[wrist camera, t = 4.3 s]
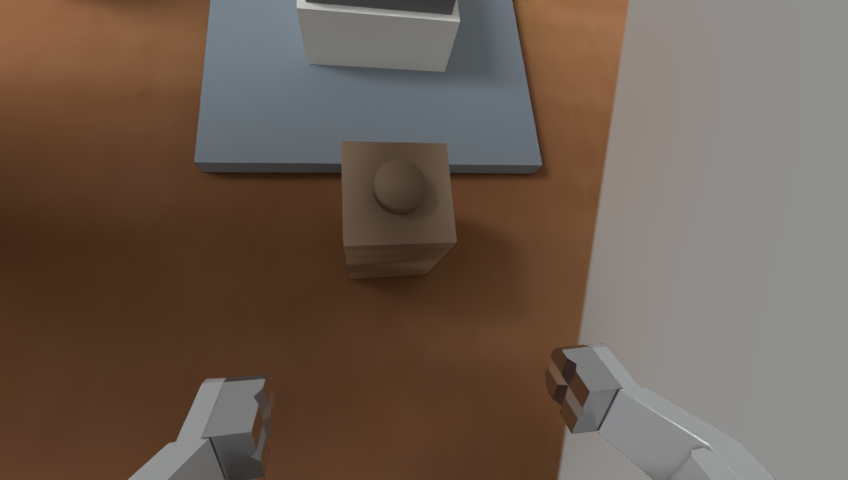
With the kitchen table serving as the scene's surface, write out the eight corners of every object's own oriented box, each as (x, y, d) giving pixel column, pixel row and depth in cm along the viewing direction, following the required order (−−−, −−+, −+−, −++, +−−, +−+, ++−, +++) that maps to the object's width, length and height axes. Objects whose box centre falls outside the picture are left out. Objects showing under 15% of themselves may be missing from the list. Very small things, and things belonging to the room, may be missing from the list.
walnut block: (349, 278, 21) (341, 240, 13) (347, 206, 22) (339, 130, 14) (425, 275, 21) (462, 237, 13) (419, 205, 23) (451, 132, 15)
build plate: (203, 172, 21) (134, 99, 14) (225, -66, 26) (181, -197, 19) (533, 173, 25) (592, 116, 18) (497, -34, 30) (534, -135, 23)
